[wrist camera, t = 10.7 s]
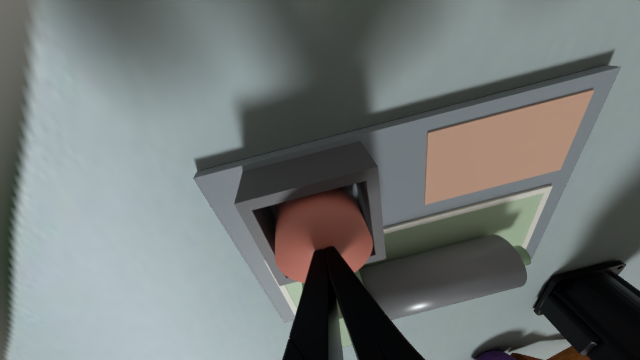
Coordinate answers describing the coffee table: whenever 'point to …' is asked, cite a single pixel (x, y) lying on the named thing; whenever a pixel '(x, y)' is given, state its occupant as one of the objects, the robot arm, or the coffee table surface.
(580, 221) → the coffee table surface
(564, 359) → the kendama
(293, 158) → the grey compartment tray
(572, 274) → the robot arm
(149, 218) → the coffee table surface
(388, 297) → the marker
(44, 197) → the coffee table surface
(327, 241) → the button
